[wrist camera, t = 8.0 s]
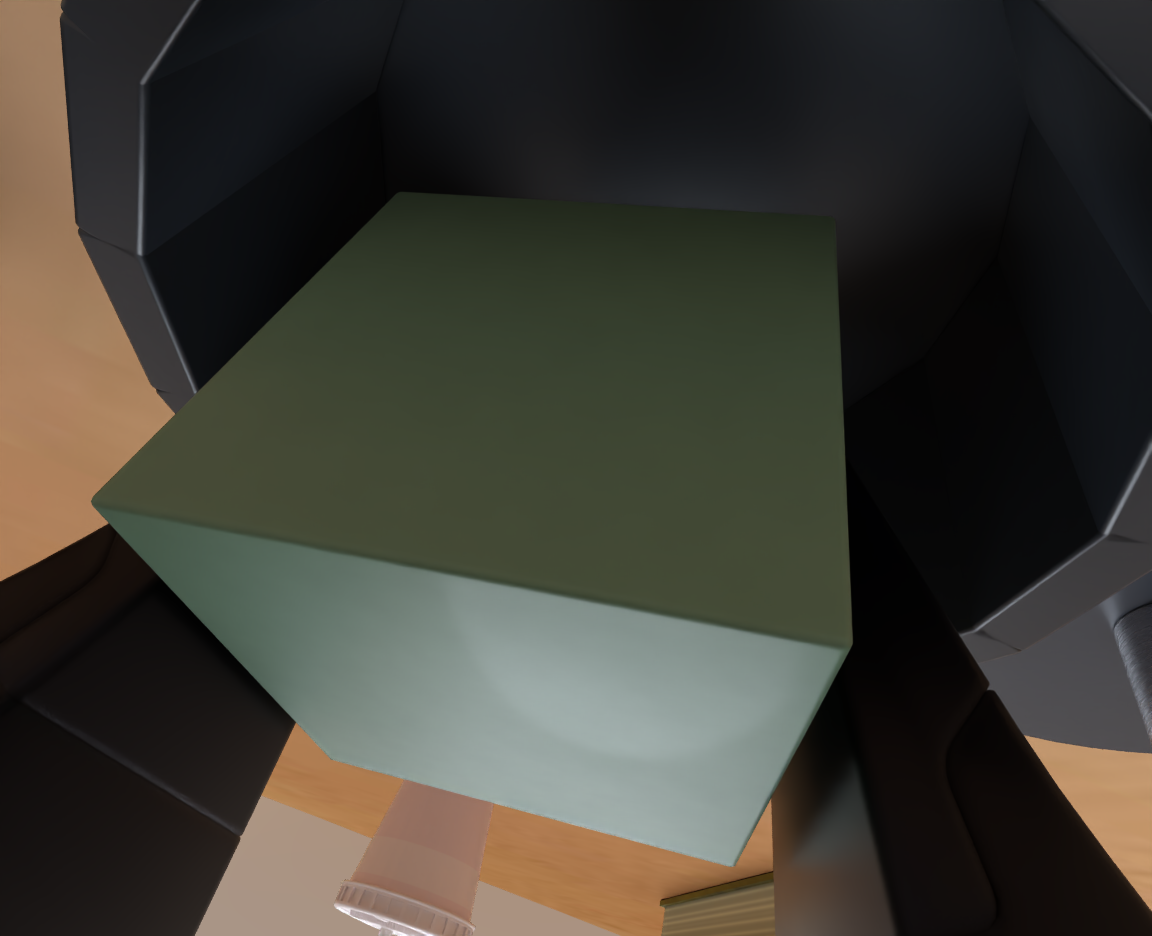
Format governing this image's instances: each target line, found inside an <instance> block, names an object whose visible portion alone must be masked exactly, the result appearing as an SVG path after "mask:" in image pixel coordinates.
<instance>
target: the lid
mask: <svg viewBox="0 0 1152 936" xmlns="http://www.w3.org/2000/svg"><path fill="white" fill-rule="evenodd" d="M978 665H979V667H980V668H981V670H982V671H983V673H984V675H985V676H986V678H987V679H988V681H989V683H990V685H989V687H988V689H987V690H994V691H995V692H996V693H997V694H998V696H999V698H1000V699H1001V701H1002V702H1003V704H1004V706H1005V707H1006V709H1007V710H1008V712H1009V713H1010V715H1011V717H1012V718H1013V720H1014V721H1015V723H1016V724H1017V726H1018V728H1019V729H1020V731H1021V732H1022V734H1023V735H1026V736H1030V737H1035V738H1040V739H1044V740H1049V741H1054V742H1059V743H1065V744H1071V745H1078V746H1084V747H1090V748H1099V749H1108V750H1116V751H1125V752H1138V753H1152V571H1150V572H1149V573H1147V574H1145V575H1144V576H1142V577H1141V578H1139V579H1137V580H1136V581H1134V582H1133V583H1131V584H1130V585H1128V586H1126V587H1125V588H1123V589H1122V590H1120V591H1118V592H1117V593H1115V594H1114V595H1112V596H1110V597H1109V598H1107V599H1106V600H1104V601H1102V602H1101V603H1099V604H1098V605H1096V606H1095V607H1093V608H1091V609H1090V610H1088V611H1087V612H1085V613H1083V614H1082V615H1080V616H1079V617H1077V618H1075V619H1074V620H1072V621H1071V622H1069V623H1067V624H1066V625H1064V626H1063V627H1061V628H1060V629H1058V630H1056V631H1055V632H1053V633H1052V634H1050V635H1048V636H1047V637H1045V638H1044V639H1042V640H1040V641H1039V642H1037V643H1036V644H1034V645H1032V646H1031V647H1029V648H1028V649H1025V650H1021V652H1019V653H1016V654H1012V655H1008V656H1005V657H1001V658H998V659H994V660H990V661H987V662H983V663H979V664H978Z"/></svg>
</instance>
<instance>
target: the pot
mask: <svg viewBox="0 0 1152 936" xmlns="http://www.w3.org/2000/svg"><path fill="white" fill-rule="evenodd" d="M61 9H62V10H63V13H62V14H61V17H60V27H61V40H62V53H63V66H64V79H65V91H66V104H67V117H68V130H69V143H70V156H71V169H72V181H73V194H74V207H75V220H76V224H77V225H78V227H79V229H78V234H79V236H80V238H81V240H82V242H83V244H84V246H85V248H86V250H87V253H88V255H89V257H90V259H91V261H92V263H93V265H94V267H95V269H96V271H97V273H98V275H99V278H100V280H101V282H102V284H103V286H104V288H105V290H106V292H107V294H108V296H109V298H110V301H111V303H112V305H113V307H114V309H115V311H116V313H117V315H118V317H119V319H120V321H121V324H122V326H123V328H124V330H125V332H126V334H127V336H128V338H129V340H130V342H131V344H132V346H133V349H134V351H135V353H136V355H137V357H138V359H139V361H140V363H141V365H142V367H143V369H144V372H145V374H146V376H147V378H148V380H149V382H150V384H151V385H152V386H153V387H154V388H155V389H156V391H157V393H158V394H159V396H160V397H161V398H162V399H163V400H164V401H165V403H166V404H167V405H168V406H169V407H170V408H171V410H172V411H173V412H174V413H175V414H176V413H177V412H178V411H179V410H180V409H181V408H182V407H183V406H184V405H185V404H186V403H187V402H188V401H189V400H190V399H191V398H192V397H193V396H194V395H195V394H196V393H197V392H198V391H199V390H200V389H201V388H202V387H203V386H204V385H205V384H206V383H207V382H208V381H209V380H210V379H211V378H212V377H213V376H214V375H215V374H216V373H217V372H218V371H219V370H220V369H221V368H222V367H223V366H224V365H225V364H226V363H227V362H228V361H229V360H230V359H231V358H232V357H233V356H234V355H235V354H236V353H237V352H238V351H239V350H240V349H241V348H242V347H243V346H244V345H245V344H246V343H247V342H248V341H249V340H250V339H251V338H252V337H253V336H254V335H255V334H256V333H257V332H258V331H259V330H260V329H261V328H262V327H263V326H264V325H265V324H266V323H267V322H268V321H269V320H270V319H271V318H272V317H273V316H274V315H275V314H276V313H277V312H278V311H279V310H280V309H281V308H282V307H283V306H284V305H285V304H286V303H287V302H288V301H289V300H290V299H291V298H292V297H293V296H294V295H295V294H296V293H297V292H298V291H299V290H300V289H301V288H302V287H303V286H304V285H305V284H306V283H307V282H308V281H309V280H310V279H311V278H312V277H313V276H314V275H315V274H316V273H317V272H318V271H319V270H320V269H321V268H322V267H323V266H324V265H325V264H326V263H327V262H328V261H329V260H330V259H331V258H332V257H333V256H334V255H335V254H336V253H337V252H338V251H339V250H340V249H342V248H343V247H344V246H345V245H346V244H347V243H348V242H349V241H350V240H351V239H352V238H353V237H354V236H355V235H356V234H357V233H358V232H359V231H360V230H361V229H362V228H363V227H364V226H365V225H366V224H367V223H368V222H369V221H370V220H371V219H372V218H373V217H374V216H375V215H376V214H377V213H378V212H379V211H380V210H381V209H382V208H383V207H384V206H385V205H386V204H387V203H388V202H389V201H390V200H391V199H392V198H393V197H394V196H395V195H396V194H397V193H399V192H414V193H432V194H449V195H467V196H484V197H502V198H519V199H537V200H554V201H572V202H589V203H607V204H624V205H642V206H659V207H677V208H694V209H712V210H729V211H747V212H764V213H782V214H799V215H817V216H830V217H833V218H834V219H835V225H836V249H837V273H838V297H839V321H840V345H841V369H842V393H843V417H844V441H845V456H846V457H847V459H848V460H849V462H850V464H851V465H852V467H853V468H854V470H855V472H856V473H857V475H858V476H859V478H860V479H861V481H862V483H863V484H864V486H865V487H866V489H867V490H868V492H869V494H870V495H871V497H872V498H873V500H874V501H875V503H876V505H877V506H878V508H879V509H880V511H881V512H882V514H883V516H884V517H885V519H886V520H887V522H888V523H889V525H890V527H891V528H892V530H893V531H894V533H895V534H896V536H897V538H898V539H899V541H900V542H901V544H902V545H903V547H904V549H905V550H906V552H907V553H908V555H909V556H910V558H911V560H912V561H913V563H914V564H915V566H916V568H917V569H918V571H919V572H920V574H921V575H922V577H923V579H924V580H925V582H926V583H927V585H928V586H929V588H930V590H931V591H932V593H933V594H934V596H935V597H936V599H937V601H938V602H939V604H940V605H941V607H942V608H943V610H944V612H945V613H946V615H947V616H948V618H949V619H950V621H951V623H952V624H953V626H954V627H955V629H956V630H957V632H958V634H959V635H960V637H961V638H962V640H963V641H964V643H965V645H966V646H967V648H968V649H969V651H970V652H971V654H972V656H973V657H974V659H975V660H976V662H977V664H979V663H983V662H987V661H990V660H994V659H998V658H1001V657H1005V656H1008V655H1012V654H1016V653H1019V652H1021V650H1025V649H1028V648H1029V647H1031V646H1032V645H1034V644H1036V643H1037V642H1039V641H1040V640H1042V639H1044V638H1045V637H1047V636H1048V635H1050V634H1052V633H1053V632H1055V631H1056V630H1058V629H1060V628H1061V627H1063V626H1064V625H1066V624H1067V623H1069V622H1071V621H1072V620H1074V619H1075V618H1077V617H1079V616H1080V615H1082V614H1083V613H1085V612H1087V611H1088V610H1090V609H1091V608H1093V607H1095V606H1096V605H1098V604H1099V603H1101V602H1102V601H1104V600H1106V599H1107V598H1109V597H1110V596H1112V595H1114V594H1115V593H1117V592H1118V591H1120V590H1122V589H1123V588H1125V587H1126V586H1128V585H1130V584H1131V583H1133V582H1134V581H1136V580H1137V579H1139V578H1141V577H1142V576H1144V575H1145V574H1147V573H1149V572H1150V571H1152V0H62V2H61Z"/></svg>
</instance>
